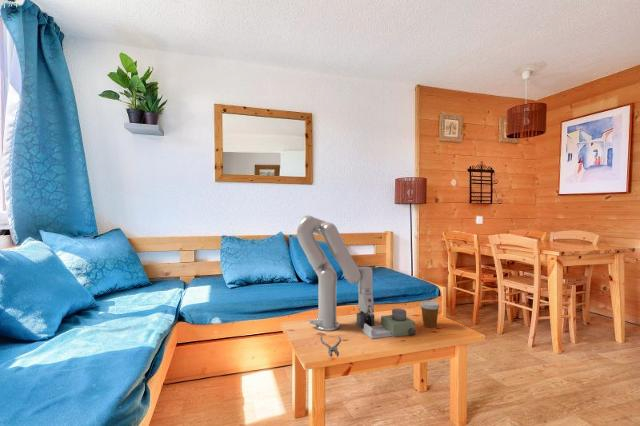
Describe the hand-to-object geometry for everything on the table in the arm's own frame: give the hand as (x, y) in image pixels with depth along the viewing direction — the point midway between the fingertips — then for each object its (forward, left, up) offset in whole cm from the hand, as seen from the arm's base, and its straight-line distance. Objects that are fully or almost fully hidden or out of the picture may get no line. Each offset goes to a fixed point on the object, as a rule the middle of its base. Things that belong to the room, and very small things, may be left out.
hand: (365, 323), depth 159 cm
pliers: (-24, -18, -1) cm, 30 cm away
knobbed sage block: (+7, -12, -1) cm, 14 cm away
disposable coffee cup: (+32, -11, -1) cm, 34 cm away
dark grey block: (0, 0, -1) cm, 1 cm away
